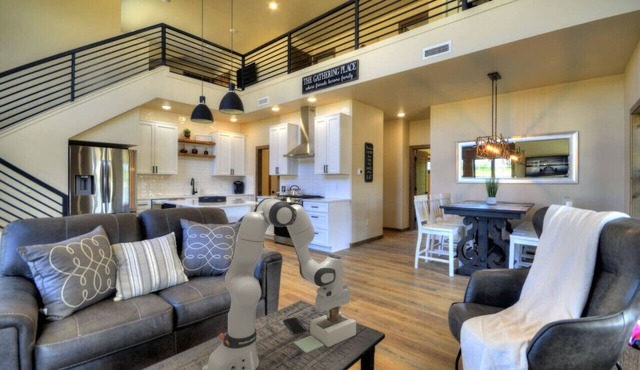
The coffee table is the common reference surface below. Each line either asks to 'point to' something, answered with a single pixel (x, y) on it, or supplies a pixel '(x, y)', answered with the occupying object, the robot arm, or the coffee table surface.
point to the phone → (294, 325)
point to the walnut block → (334, 314)
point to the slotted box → (332, 329)
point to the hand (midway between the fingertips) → (332, 315)
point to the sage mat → (308, 344)
